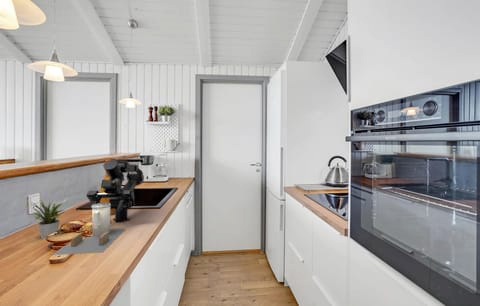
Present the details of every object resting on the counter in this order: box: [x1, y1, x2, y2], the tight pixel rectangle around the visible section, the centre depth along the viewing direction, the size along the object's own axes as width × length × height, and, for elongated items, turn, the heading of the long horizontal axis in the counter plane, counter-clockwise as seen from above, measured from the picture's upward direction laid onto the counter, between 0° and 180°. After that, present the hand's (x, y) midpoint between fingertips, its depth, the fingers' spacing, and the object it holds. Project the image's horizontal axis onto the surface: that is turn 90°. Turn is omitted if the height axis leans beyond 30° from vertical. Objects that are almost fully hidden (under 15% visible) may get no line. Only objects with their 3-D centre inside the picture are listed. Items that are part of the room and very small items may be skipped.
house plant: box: [27, 197, 68, 240], centre depth 99 cm, size 14×14×16 cm
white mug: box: [91, 203, 112, 237], centre depth 100 cm, size 9×7×12 cm
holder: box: [51, 228, 127, 256], centre depth 94 cm, size 24×16×4 cm, turn 7°
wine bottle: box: [99, 158, 115, 216], centre depth 135 cm, size 10×10×30 cm
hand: (106, 212), depth 105 cm, fingers open, 9 cm apart
